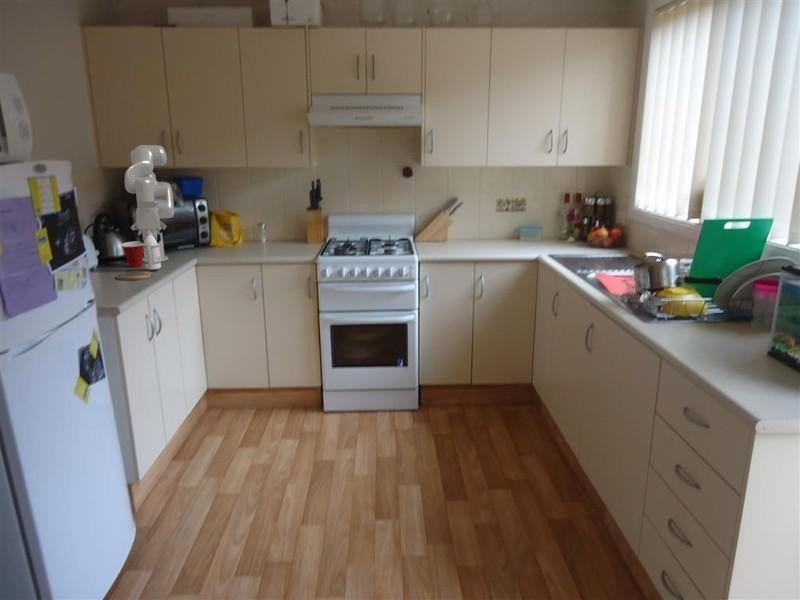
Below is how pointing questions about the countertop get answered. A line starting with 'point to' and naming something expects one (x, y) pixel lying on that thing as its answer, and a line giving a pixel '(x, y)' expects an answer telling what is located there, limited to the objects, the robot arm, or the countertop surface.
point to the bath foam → (151, 251)
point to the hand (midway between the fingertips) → (150, 242)
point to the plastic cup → (133, 253)
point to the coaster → (134, 275)
